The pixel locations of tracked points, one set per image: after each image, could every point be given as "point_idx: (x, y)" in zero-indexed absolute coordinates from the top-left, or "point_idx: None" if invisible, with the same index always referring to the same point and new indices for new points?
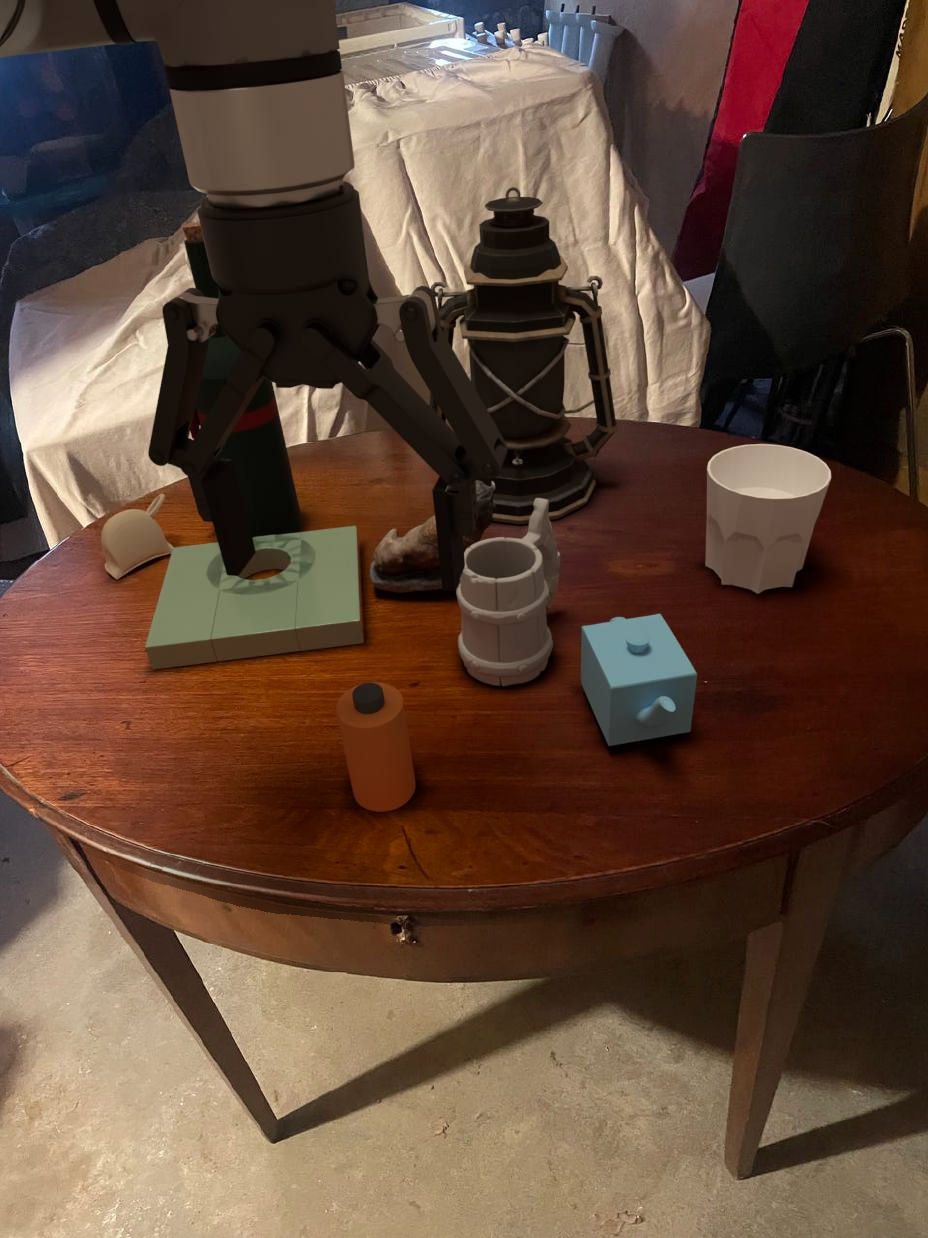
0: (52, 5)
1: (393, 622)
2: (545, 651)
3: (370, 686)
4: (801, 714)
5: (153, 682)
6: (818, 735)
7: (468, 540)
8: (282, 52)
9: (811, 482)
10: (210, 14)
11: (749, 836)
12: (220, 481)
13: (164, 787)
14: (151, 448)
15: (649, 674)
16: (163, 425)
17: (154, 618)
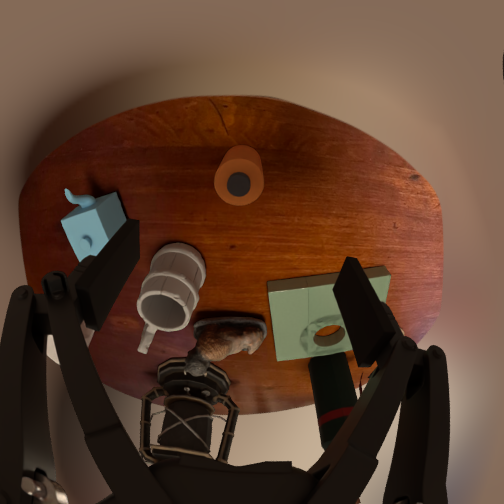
0: None
1: (251, 296)
2: (152, 260)
3: (237, 192)
4: (48, 219)
5: (384, 256)
6: (43, 207)
7: (201, 340)
8: None
9: (49, 343)
10: None
11: (63, 143)
12: (373, 336)
13: (372, 175)
14: (444, 360)
15: (79, 219)
16: (440, 385)
17: (386, 296)
